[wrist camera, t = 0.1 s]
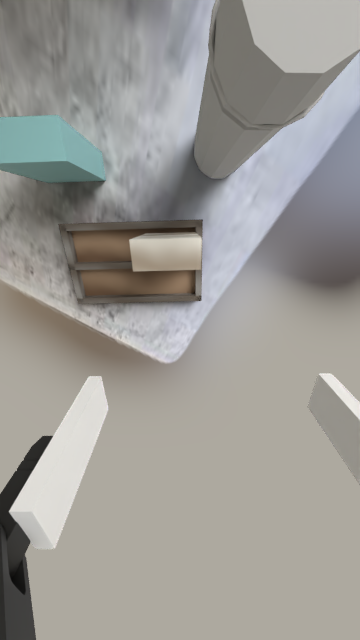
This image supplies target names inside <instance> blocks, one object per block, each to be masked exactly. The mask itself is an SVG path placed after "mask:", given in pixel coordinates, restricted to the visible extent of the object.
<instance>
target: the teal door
mask: <svg viewBox="0 0 360 640" xmlns="http://www.w3.org/2000/svg"><path fill="white" fill-rule="evenodd" d="M0 170H2V171H6V172H10V173H13V174H17V175H21V176H24V177H28V178H32V179H35V180H39V181H43V182H46V183H55V182H83V181H106V179H105V172H104V165H103V159H102V152H101V151H100V150H99V149H97V148H96V147H95V146H94V145H93V144H91V143H90V142H89V141H88V140H87V139H86V138H84V137H83V136H82V135H81V134H80V133H78V132H77V131H76V130H75V129H74V128H73V127H71V126H70V125H69V124H68V123H67V122H65V121H64V120H63V119H62V118H61V117H60V116H58V115H44V116H20V117H0Z"/></svg>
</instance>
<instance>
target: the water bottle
mask: <svg viewBox="0 0 360 640" xmlns="http://www.w3.org/2000/svg"><path fill="white" fill-rule="evenodd" d="M208 48H209V57H208V63H207V69H206V75H205V81H204V87H203V93H202V99H201V105H200V111H199V117H198V123H197V129H196V136H195V145H194V158H195V160H196V163H197V165H198V167H199V170H200V171H201V172H202V173H204V174H205V175H207V176H208V177H209V178H215V179H223V178H225V177H226V176H228V175H230V174H231V173H233V172H234V171H235V170H237V169H238V168H239V167H240V166H241V165H242V164H243V163H244V162H245V161H246V160H248V159H249V158H250V157H251V156H252V155H253V154H254V153H255V152H256V151H257V150H259V149H260V148H261V147H262V146H263V145H264V144H265V143H266V142H267V141H268V140H270V139H271V138H272V137H273V136H274V135H275V134H276V133H277V132H278V131H279V130H280V129H282V128H283V127H285V126H287V125H289V124H292V123H293V122H295V121H297V120H300V119H302V118H304V117H305V115H306V114H307V113H308V112H309V111H310V110H311V109H312V108H313V107H314V106H315V105H316V103H317V102H318V101H319V100H320V99H321V98H322V96H323V94H324V92H325V90H326V89H327V88H328V87H329V85H330V84H331V83H332V82H333V81H334V80H335V79H336V77H337V76H338V75H339V74H340V73H341V72H342V71H343V69H344V68H345V67H346V66H347V65H348V64H349V63H350V62H351V60H352V59H353V58H354V57H355V56H356V55H357V54H358V52H359V51H360V0H216V1H215V4H214V7H213V10H212V17H211V24H210V33H209V43H208Z"/></svg>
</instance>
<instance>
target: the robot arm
mask: <svg viewBox="0 0 360 640" xmlns="http://www.w3.org/2000/svg"><path fill="white" fill-rule="evenodd" d="M308 408H309V410H310V411H311V413H312V414H313V416H314V417H315V419H316V420H317V422H318V423H319V425H320V426H321V428H322V429H323V431H324V432H325V434H326V435H327V437H328V438H329V440H330V441H331V443H332V444H333V446H334V447H335V449H336V450H337V451H338V453H339V455H340V456H341V457H342V459H343V461H344V462H345V463H346V465H347V466H348V468H349V469H350V471H351V472H352V474H353V475H354V477H355V478H356V480H357V481H358V483H359V484H360V403H359V402H358V400H357V399H356V398H355V397H354V396H353V395H352V394H351V393H350V392H349V391H348V390H347V389H346V388H345V387H344V386H343V385H342V384H341V383H340V382H339V381H338V380H337V379H336V378H335V377H334V376H333V375H332V374H318V377H317V380H316V383H315V386H314V389H313V392H312V395H311V398H310V401H309V405H308ZM108 409H109V408H108V404H107V400H106V395H105V391H104V386H103V382H102V377H101V376H89V377H88V379H87V380H86V382H85V384H84V385H83V387H82V389H81V390H80V392H79V394H78V395H77V397H76V399H75V401H74V402H73V404H72V406H71V407H70V409H69V411H68V412H67V414H66V416H65V417H64V419H63V421H62V423H61V424H60V426H59V428H58V429H57V431H56V433H55V434H54V436H42V437H41V439H39V440H38V441H37V442H36V443H35V444H34V445H33V446H32V447H31V449H30V450H29V452H28V453H27V455H26V456H25V458H24V460H23V461H22V462H21V464H20V465H19V467H18V468H17V471H15V473H14V474H13V476H12V478H11V479H10V480H9V482H8V483H7V485H6V487H5V488H4V489H3V491H2V492H1V494H0V640H36V635H35V628H34V619H33V611H32V603H31V595H30V587H29V578H28V570H27V562H26V557H25V552H26V550H27V548H28V546H29V544H30V542H31V544H32V545H33V546H34V548H35V549H55V547H56V544H57V542H58V539H59V537H60V534H61V531H62V529H63V526H64V524H65V521H66V519H67V516H68V513H69V511H70V508H71V505H72V503H73V500H74V498H75V495H76V493H77V490H78V487H79V485H80V482H81V480H82V477H83V474H84V472H85V469H86V466H87V464H88V461H89V459H90V456H91V454H92V451H93V448H94V446H95V443H96V441H97V438H98V435H99V433H100V430H101V427H102V425H103V422H104V420H105V417H106V414H107V412H108Z"/></svg>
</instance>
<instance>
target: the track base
mask: <svg viewBox="0 0 360 640" xmlns="http://www.w3.org/2000/svg"><path fill="white" fill-rule="evenodd" d="M202 221H203V220H176V221H143V222H111V223H79V224H58V225H59V229H60V233H61V237H62V241H63V245H64V249H65V253H66V257H67V261H68V265H69V269H70V273H71V277H72V281H73V285H74V289H75V293H76V297H77V301H78V304H91V303H133V302H174V301H201V285H202Z"/></svg>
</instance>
